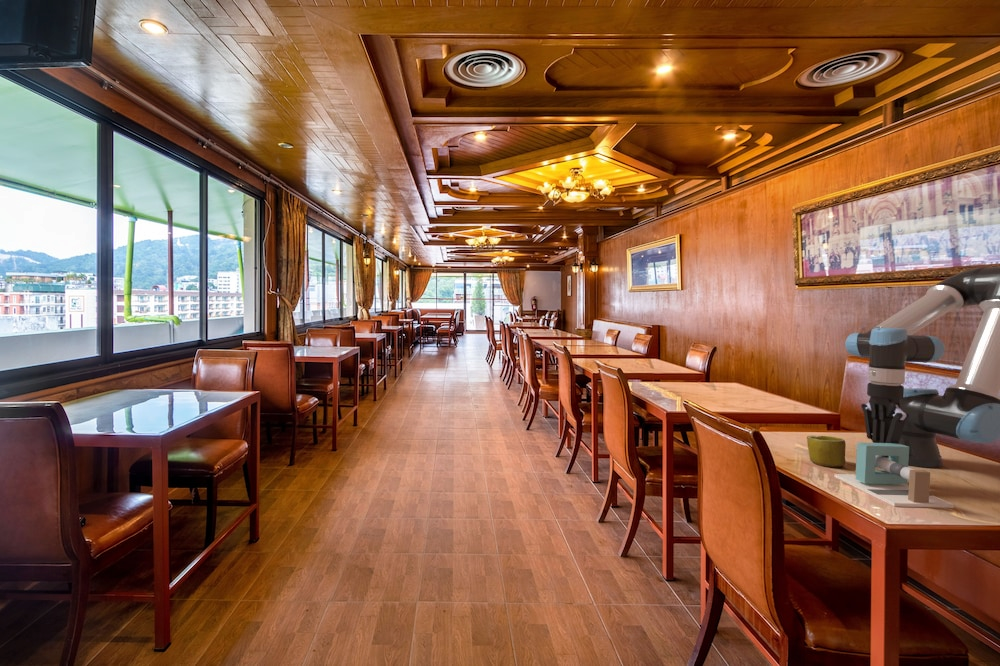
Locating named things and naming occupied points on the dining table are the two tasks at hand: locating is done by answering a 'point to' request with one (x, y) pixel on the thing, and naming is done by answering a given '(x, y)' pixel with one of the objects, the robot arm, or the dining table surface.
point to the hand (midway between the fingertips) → (880, 467)
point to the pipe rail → (899, 486)
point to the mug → (826, 450)
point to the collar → (868, 458)
